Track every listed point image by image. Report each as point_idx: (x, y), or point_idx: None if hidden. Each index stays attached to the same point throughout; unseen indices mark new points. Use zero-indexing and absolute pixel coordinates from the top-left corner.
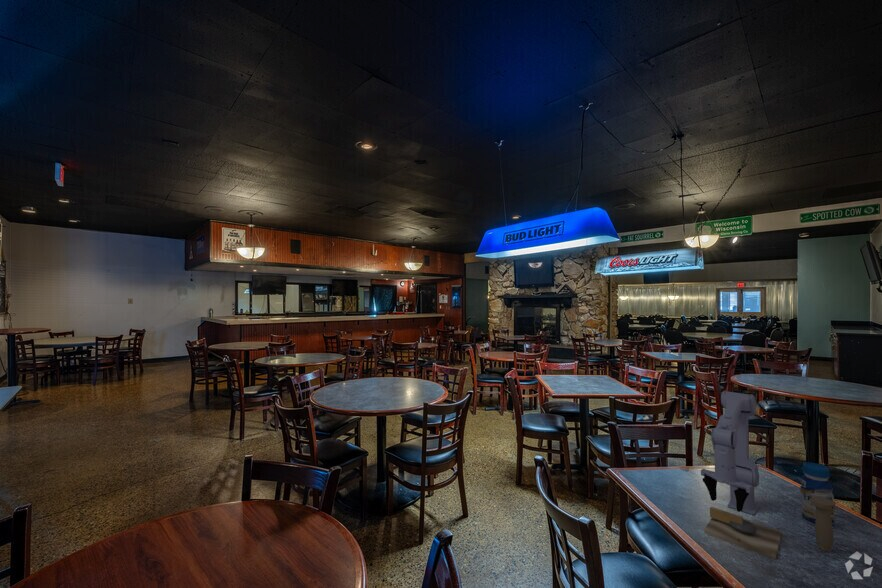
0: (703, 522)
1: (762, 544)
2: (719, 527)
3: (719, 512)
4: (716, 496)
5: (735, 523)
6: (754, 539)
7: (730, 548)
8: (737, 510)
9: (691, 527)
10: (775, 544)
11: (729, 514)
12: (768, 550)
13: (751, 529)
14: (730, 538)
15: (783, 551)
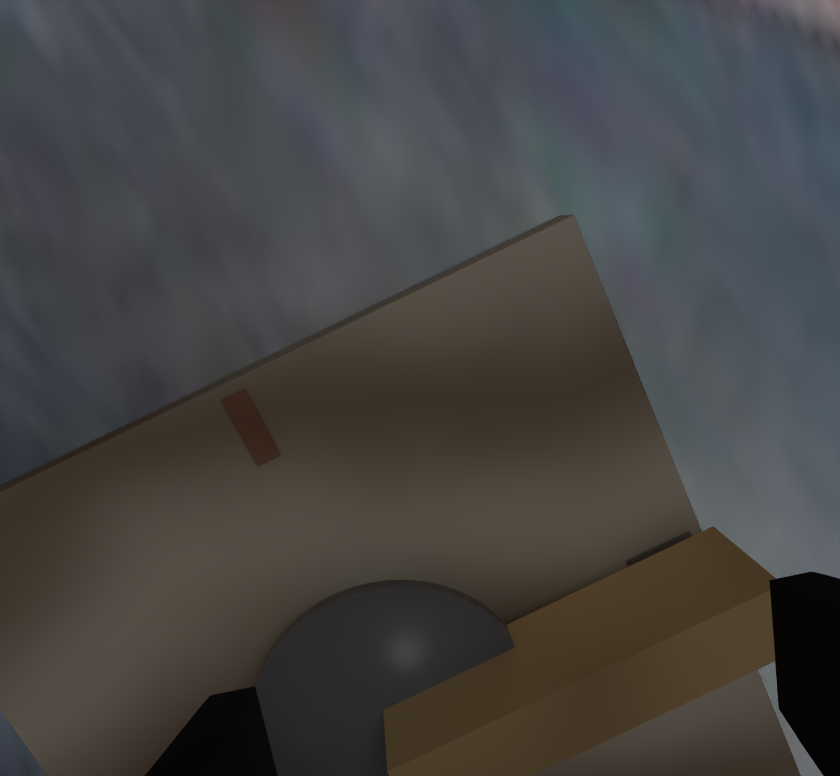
0: (719, 432)
1: (103, 619)
2: (533, 461)
3: (653, 633)
4: (822, 768)
5: (439, 656)
6: (211, 630)
7: (218, 216)
8: (233, 693)
9: (708, 166)
10: (67, 762)
11: (542, 708)
12: None
13: (266, 722)
14: (310, 357)
15: (22, 755)
